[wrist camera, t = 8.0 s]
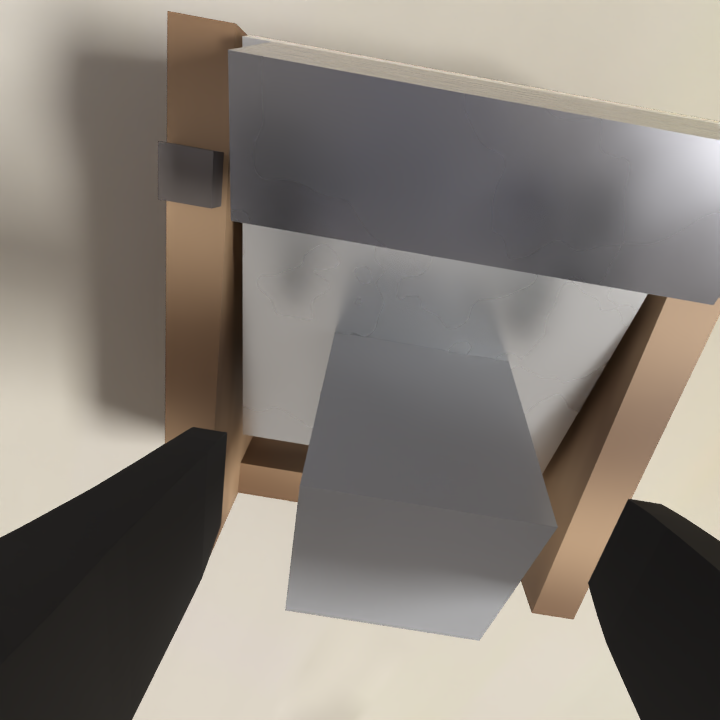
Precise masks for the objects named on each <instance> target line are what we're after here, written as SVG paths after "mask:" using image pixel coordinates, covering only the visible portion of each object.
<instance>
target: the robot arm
mask: <svg viewBox="0 0 720 720" xmlns="http://www.w3.org/2000/svg"><path fill="white" fill-rule="evenodd" d="M226 445H227V432H221V431H215V430H209V429H203V428H197V427H192V428H190V429H188V430H186V431H185V432H183V433H181V434H180V435H178V436H177V437H175V438H173V439H172V440H170V441H168V442H167V443H165V444H164V445H162V446H161V447H159V448H157V449H156V450H154V451H153V452H151V453H149V454H148V455H146V456H145V457H143V458H141V459H140V460H138V461H136V462H135V463H133V464H131V465H130V466H128V467H127V468H125V469H123V470H122V471H120V472H118V473H117V474H115V475H113V476H112V477H110V478H108V479H107V480H105V481H103V482H102V483H100V484H98V485H97V486H95V487H93V488H92V489H90V490H88V491H86V492H84V493H82V494H81V495H79V496H77V497H75V498H73V499H71V500H70V501H68V502H66V503H64V504H62V505H61V506H59V507H57V508H55V509H53V510H51V511H50V512H48V513H46V514H44V515H42V516H40V517H39V518H37V519H35V520H33V521H31V522H29V523H28V524H26V525H24V526H22V527H20V528H18V529H16V530H14V531H12V532H10V533H9V534H7V535H5V536H3V537H1V538H0V720H132V719H133V717H134V715H135V712H136V710H137V708H138V706H139V704H140V702H141V700H142V698H143V696H144V694H145V692H146V690H147V688H148V686H149V684H150V682H151V680H152V678H153V676H154V674H155V672H156V670H157V668H158V666H159V664H160V662H161V660H162V658H163V656H164V654H165V652H166V650H167V648H168V646H169V644H170V642H171V640H172V638H173V636H174V634H175V632H176V630H177V628H178V626H179V624H180V622H181V620H182V618H183V616H184V614H185V612H186V610H187V608H188V606H189V603H190V601H191V599H192V597H193V595H194V593H195V591H196V589H197V587H198V585H199V583H200V581H201V579H202V576H203V573H204V571H205V568H206V565H207V563H208V560H209V557H210V555H211V552H212V549H213V546H214V543H215V540H216V538H217V535H218V532H219V529H220V526H221V520H222V505H223V490H224V475H225V460H226ZM588 585H589V589H590V592H591V595H592V599H593V602H594V606H595V609H596V613H597V616H598V619H599V622H600V625H601V628H602V631H603V634H604V637H605V640H606V643H607V645H608V648H609V650H610V652H611V655H612V657H613V659H614V662H615V664H616V666H617V668H618V671H619V673H620V675H621V677H622V679H623V682H624V684H625V686H626V688H627V691H628V693H629V695H630V697H631V700H632V702H633V704H634V706H635V708H636V711H637V713H638V715H639V717H640V719H641V720H720V541H719V540H717V539H716V538H714V537H713V536H711V535H710V534H708V533H707V532H705V531H704V530H702V529H701V528H699V527H698V526H696V525H695V524H693V523H692V522H690V521H689V520H687V519H686V518H684V517H682V516H681V515H679V514H677V513H676V512H674V511H672V510H671V509H669V508H667V507H665V506H664V505H662V504H657V503H651V502H645V501H639V500H632V499H628V500H627V502H626V504H625V507H624V509H623V511H622V513H621V515H620V517H619V519H618V521H617V523H616V525H615V527H614V529H613V532H612V534H611V536H610V538H609V540H608V542H607V544H606V546H605V548H604V550H603V552H602V555H601V557H600V559H599V561H598V563H597V565H596V567H595V569H594V571H593V573H592V575H591V578H590V580H589V582H588Z"/></svg>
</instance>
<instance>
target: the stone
mask: <svg viewBox="0 0 720 720" xmlns="http://www.w3.org/2000/svg"><path fill="white" fill-rule="evenodd" d="M557 528H558V526H557V523H556V519H555V516H554V513H553V509H552V506H551V503H550V499H549V496H548V492H547V489H546V486H545V482H544V479H543V475H542V472H541V469H540V465H539V462H538V459H537V455H536V452H535V448H534V445H533V442H532V438H531V435H530V432H529V428H528V425H527V421H526V418H525V415H524V411H523V408H522V404H521V401H520V398H519V394H518V391H517V388H516V384H515V381H514V377H513V374H512V371H511V367H510V364H509V362H507V361H502V360H496V359H490V358H484V357H478V356H472V355H467V354H461V353H455V352H449V351H443V350H437V349H432V348H426V347H420V346H414V345H408V344H402V343H397V342H391V341H385V340H379V339H373V338H368V337H362V336H356V335H350V334H344V333H338V332H335V333H334V338H333V342H332V346H331V351H330V355H329V360H328V364H327V368H326V373H325V377H324V381H323V386H322V390H321V395H320V399H319V403H318V408H317V412H316V416H315V421H314V425H313V430H312V434H311V438H310V443H309V447H308V451H307V456H306V460H305V465H304V469H303V473H302V478H301V482H300V488H299V496H298V505H297V514H296V522H295V531H294V540H293V548H292V557H291V566H290V574H289V583H288V592H287V600H286V609H285V610H287V611H293V612H300V613H306V614H312V615H319V616H325V617H332V618H338V619H344V620H351V621H357V622H364V623H370V624H376V625H383V626H389V627H396V628H402V629H408V630H415V631H421V632H427V633H434V634H440V635H447V636H453V637H459V638H466V639H472V640H480V639H481V637H482V636H483V635H484V633H485V632H486V630H487V629H488V627H489V626H490V624H491V623H492V622H493V620H494V619H495V617H496V616H497V614H498V613H499V611H500V610H501V609H502V607H503V606H504V604H505V603H506V601H507V600H508V598H509V597H510V596H511V594H512V593H513V591H514V590H515V588H516V587H517V585H518V584H519V583H520V581H521V580H522V578H523V577H524V575H525V574H526V572H527V571H528V570H529V568H530V567H531V565H532V564H533V562H534V561H535V559H536V558H537V557H538V555H539V554H540V552H541V551H542V549H543V548H544V546H545V545H546V544H547V542H548V541H549V539H550V538H551V536H552V535H553V534H554V532H555V531H556V529H557Z"/></svg>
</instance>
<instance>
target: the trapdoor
mask: <svg viewBox="0 0 720 720" xmlns="http://www.w3.org/2000/svg"><path fill="white" fill-rule="evenodd" d="M228 84H229V146H230V207H231V221H235V222H241V223H243V434H244V435H250V436H256V437H262V438H268V439H275V440H281V441H287V442H293V443H299V444H305V445H309V443H310V438H311V434H312V430H313V425H314V421H315V416H316V412H317V408H318V403H319V399H320V395H321V390H322V386H323V381H324V377H325V373H326V368H327V364H328V360H329V355H330V351H331V346H332V342H333V338H334V333H335V332H338V333H344V334H350V335H356V336H362V337H368V338H373V339H379V340H385V341H391V342H397V343H402V344H408V345H414V346H420V347H426V348H432V349H437V350H443V351H449V352H455V353H461V354H467V355H472V356H478V357H484V358H490V359H496V360H502V361H507V362H509V364H510V367H511V371H512V374H513V377H514V381H515V384H516V388H517V391H518V394H519V398H520V401H521V404H522V408H523V411H524V415H525V418H526V421H527V425H528V428H529V432H530V435H531V438H532V442H533V445H534V448H535V452H536V455H537V459H538V462H539V465H540V469H541V472H542V474H543V472H544V470H545V469H546V467H547V465H548V464H549V462H550V460H551V458H552V457H553V455H554V453H555V452H556V450H557V448H558V446H559V445H560V443H561V441H562V440H563V438H564V436H565V435H566V433H567V431H568V429H569V428H570V426H571V424H572V423H573V421H574V419H575V417H576V416H577V414H578V412H579V411H580V409H581V407H582V406H583V404H584V402H585V400H586V399H587V397H588V395H589V394H590V392H591V390H592V388H593V387H594V385H595V383H596V382H597V380H598V378H599V377H600V375H601V373H602V371H603V370H604V368H605V366H606V365H607V363H608V361H609V359H610V358H611V356H612V354H613V353H614V351H615V349H616V348H617V346H618V344H619V342H620V341H621V339H622V337H623V336H624V334H625V332H626V330H627V329H628V327H629V325H630V324H631V322H632V320H633V319H634V317H635V315H636V313H637V312H638V310H639V308H640V307H641V305H642V303H643V301H644V300H645V298H646V296H647V295H648V294H652V295H657V296H663V297H669V298H675V299H680V300H686V301H692V302H697V303H703V304H709V305H714V304H715V302H716V301H717V299H718V298H719V296H720V121H714V120H709V119H703V118H698V117H692V116H687V115H682V114H676V113H671V112H665V111H660V110H655V109H649V108H644V107H638V106H633V105H628V104H622V103H617V102H611V101H606V100H600V99H595V98H590V97H584V96H579V95H573V94H568V93H563V92H557V91H552V90H546V89H541V88H535V87H530V86H525V85H519V84H514V83H508V82H503V81H498V80H492V79H487V78H481V77H476V76H471V75H465V74H460V73H454V72H449V71H443V70H438V69H433V68H427V67H422V66H416V65H411V64H406V63H400V62H395V61H389V60H384V59H379V58H373V57H368V56H362V55H357V54H351V53H346V52H341V51H335V50H330V49H324V48H319V47H314V46H308V45H303V44H297V43H292V42H286V41H281V40H276V39H270V38H265V37H259V36H254V35H249V36H242V47H241V48H235V49H230V50H228Z"/></svg>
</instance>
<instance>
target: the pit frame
mask: <svg viewBox="0 0 720 720" xmlns="http://www.w3.org/2000/svg"><path fill="white" fill-rule="evenodd" d="M242 36H248V35H247V34H246V33H245V32H244V31H243V30H242V29H241V28H240V27H239V26H238V25H237V24H235V23H229V22H224V21H218V20H213V19H208V18H202V17H197V16H191V15H186V14H181V13H175V12H170V11H168V20H167V142H159V141H158V199H159V200H165V201H166V362H165V443H167V442H168V441H170V440H172V439H173V438H175V437H177V436H178V435H180V434H181V433H183V432H185V431H186V430H188V429H190V428H192V427H197V428H203V429H209V430H215V431H221V432H227V445H226V460H225V475H224V490H223V505H222V520H221V526H220V529H219V532H218V535H217V538H216V540H215V543H214V546H215V544H216V541H217V539H218V537H219V535H220V532H221V530H222V528H223V525H224V523H225V521H226V519H227V516H228V514H229V512H230V510H231V507H232V505H233V503H234V501H235V498H236V496H237V494H238V493H244V494H251V495H257V496H263V497H269V498H275V499H282V500H288V501H294V502H298V496H299V488H300V482H301V478H302V473H303V469H304V465H305V460H306V456H307V451H308V447H309V445H305V444H299V443H293V442H287V441H281V440H275V439H268V438H262V437H256V436H250V435H244V434H243V223H241V222H235V221H231V207H230V146H229V84H228V50H230V49H235V48H241V47H242ZM719 315H720V296H719V298H718V299H717V301H716V302H715V304H714V305H709V304H703V303H697V302H692V301H686V300H680V299H675V298H669V297H663V296H657V295H652V294H648V295H647V296H646V298H645V300H644V301H643V303H642V305H641V307H640V308H639V310H638V312H637V313H636V315H635V317H634V319H633V320H632V322H631V324H630V325H629V327H628V329H627V330H626V332H625V334H624V336H623V337H622V339H621V341H620V342H619V344H618V346H617V348H616V349H615V351H614V353H613V354H612V356H611V358H610V359H609V361H608V363H607V365H606V366H605V368H604V370H603V371H602V373H601V375H600V377H599V378H598V380H597V382H596V383H595V385H594V387H593V388H592V390H591V392H590V394H589V395H588V397H587V399H586V400H585V402H584V404H583V406H582V407H581V409H580V411H579V412H578V414H577V416H576V417H575V419H574V421H573V423H572V424H571V426H570V428H569V429H568V431H567V433H566V435H565V436H564V438H563V440H562V441H561V443H560V445H559V446H558V448H557V450H556V452H555V453H554V455H553V457H552V458H551V460H550V462H549V464H548V465H547V467H546V469H545V470H544V472H543V474H542V475H543V479H544V482H545V486H546V489H547V492H548V496H549V499H550V503H551V506H552V509H553V513H554V516H555V519H556V523H557V526H558V528H557V529H556V531H555V532H554V534H553V535H552V536H551V538H550V539H549V541H548V542H547V544H546V545H545V546H544V548H543V549H542V551H541V552H540V554H539V555H538V557H537V558H536V559H535V561H534V562H533V564H532V565H531V567H530V568H529V570H528V571H527V572H526V574H525V575H524V577H523V578H522V580H521V582H522V585H523V588H524V591H525V594H526V597H527V600H528V603H529V606H530V609H531V612H532V613H536V614H542V615H549V616H555V617H561V618H568V619H574V617H575V615H576V613H577V611H578V609H579V607H580V605H581V603H582V600H583V598H584V596H585V594H586V592H587V590H588V588H589V585H588V582H589V580H590V578H591V575H592V573H593V571H594V569H595V567H596V565H597V563H598V561H599V559H600V557H601V555H602V552H603V550H604V548H605V546H606V544H607V542H608V540H609V538H610V536H611V534H612V532H613V529H614V527H615V525H616V523H617V521H618V519H619V517H620V515H621V513H622V511H623V509H624V507H625V504H626V502H627V500H628V499H631V498H632V496H633V494H634V492H635V490H636V488H637V486H638V484H639V482H640V480H641V478H642V475H643V473H644V471H645V469H646V467H647V465H648V463H649V461H650V459H651V457H652V455H653V453H654V450H655V448H656V446H657V444H658V442H659V440H660V438H661V436H662V434H663V432H664V430H665V428H666V426H667V423H668V421H669V419H670V417H671V415H672V413H673V411H674V409H675V407H676V405H677V403H678V401H679V398H680V396H681V394H682V392H683V390H684V388H685V386H686V384H687V382H688V380H689V378H690V376H691V373H692V371H693V369H694V367H695V365H696V363H697V361H698V359H699V357H700V355H701V353H702V351H703V348H704V346H705V344H706V342H707V340H708V338H709V336H710V334H711V332H712V330H713V328H714V326H715V323H716V321H717V319H718V317H719ZM214 546H213V548H214ZM212 550H213V549H212ZM211 553H212V552H211Z"/></svg>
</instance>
